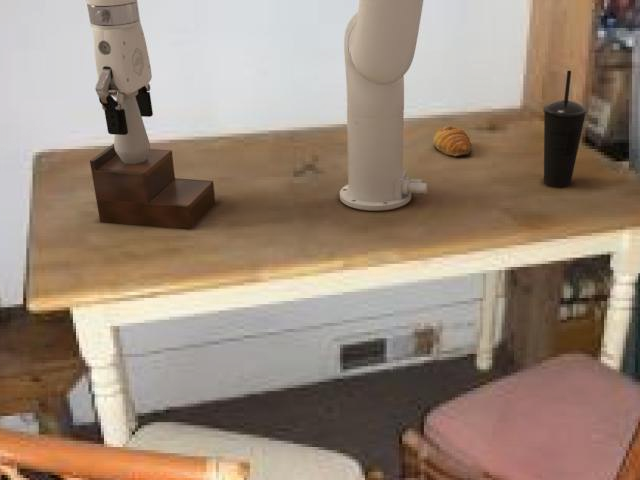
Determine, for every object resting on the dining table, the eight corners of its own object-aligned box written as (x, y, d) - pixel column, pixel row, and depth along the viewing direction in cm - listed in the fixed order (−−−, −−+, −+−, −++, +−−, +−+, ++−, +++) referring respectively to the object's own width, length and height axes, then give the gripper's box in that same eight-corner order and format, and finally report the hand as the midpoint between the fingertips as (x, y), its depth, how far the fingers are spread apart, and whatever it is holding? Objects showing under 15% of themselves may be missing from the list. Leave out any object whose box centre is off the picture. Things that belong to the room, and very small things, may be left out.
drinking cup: (583, 179, 171) (596, 68, 161) (572, 192, 166) (586, 78, 155) (542, 173, 174) (553, 63, 164) (530, 186, 168) (541, 74, 158)
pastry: (479, 156, 183) (480, 137, 181) (447, 160, 181) (447, 141, 179) (460, 141, 190) (461, 123, 188) (429, 145, 188) (430, 127, 186)
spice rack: (215, 202, 163) (209, 143, 157) (190, 229, 153) (183, 167, 147) (130, 196, 165) (121, 137, 160) (99, 222, 156) (89, 160, 150)
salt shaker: (143, 167, 152) (132, 86, 145) (110, 164, 153) (98, 84, 146) (157, 155, 157) (147, 76, 150) (125, 153, 158) (114, 75, 151)
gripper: (112, 27, 135) (130, 142, 144) (159, 4, 149) (173, 110, 158) (64, 25, 136) (85, 140, 145) (116, 3, 151) (132, 108, 160)
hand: (131, 124), depth 152 cm, fingers open, 9 cm apart
